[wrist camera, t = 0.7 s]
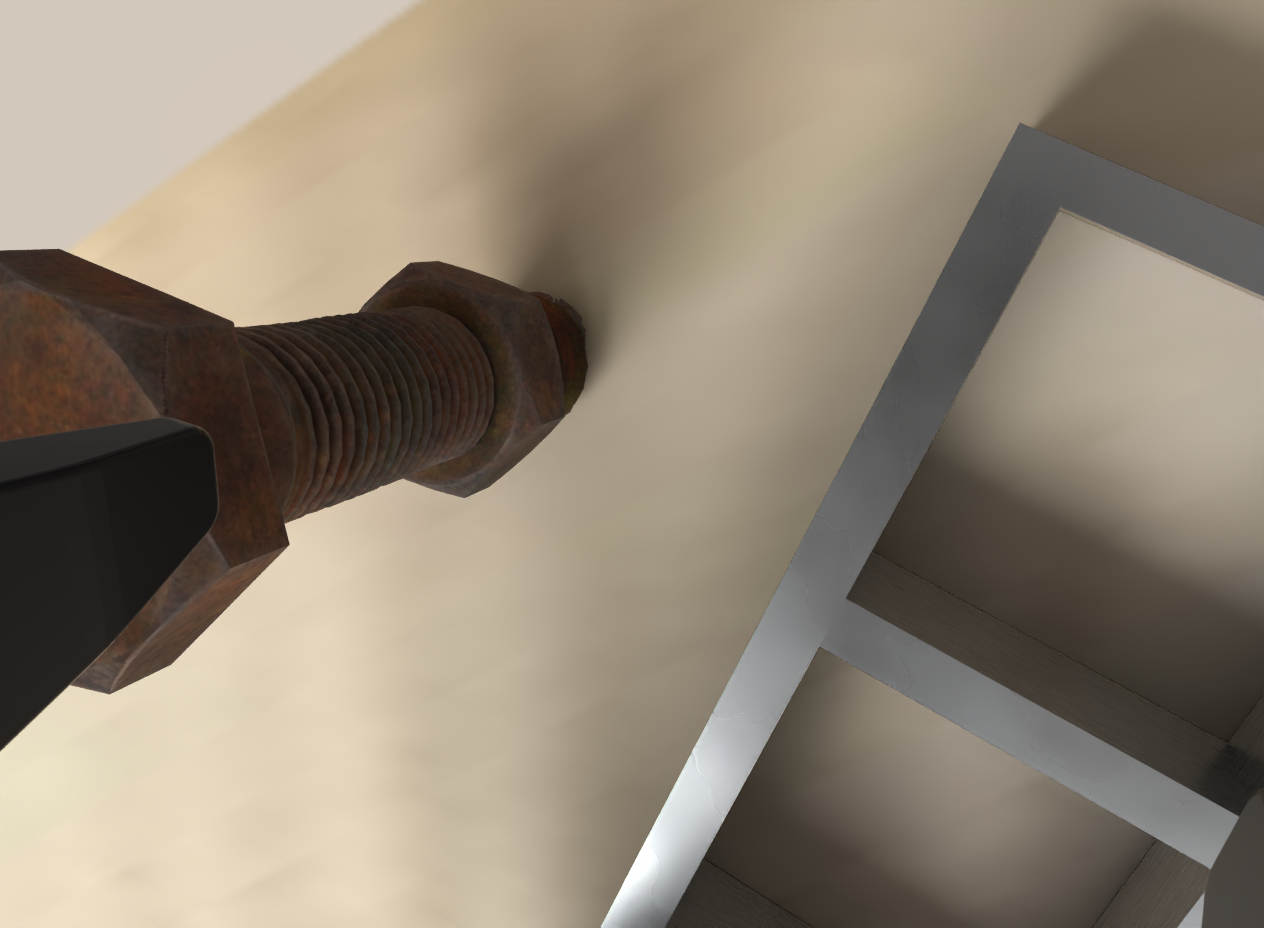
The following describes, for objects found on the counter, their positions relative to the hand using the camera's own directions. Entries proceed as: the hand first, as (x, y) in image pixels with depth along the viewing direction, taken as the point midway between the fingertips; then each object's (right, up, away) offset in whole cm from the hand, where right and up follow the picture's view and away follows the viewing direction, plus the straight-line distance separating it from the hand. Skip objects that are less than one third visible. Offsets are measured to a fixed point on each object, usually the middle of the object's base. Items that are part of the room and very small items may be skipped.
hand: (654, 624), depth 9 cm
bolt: (-2, +4, +18) cm, 19 cm away
